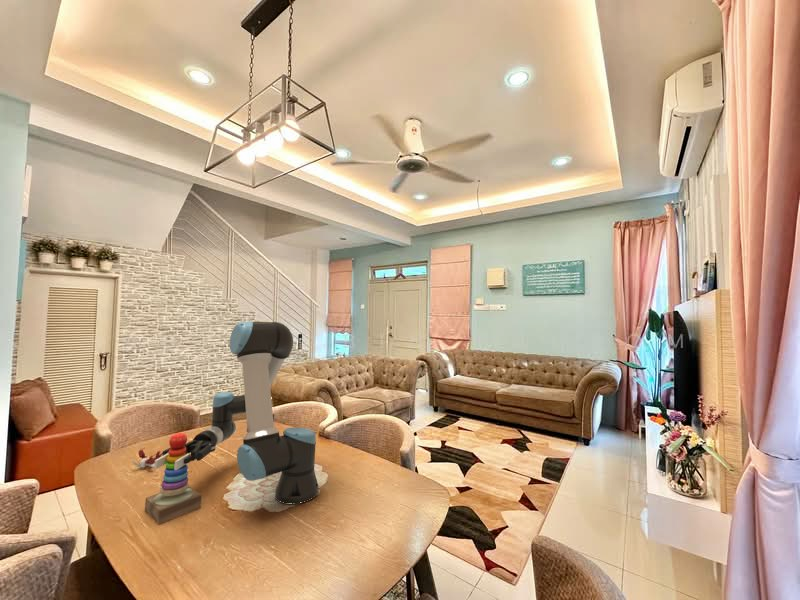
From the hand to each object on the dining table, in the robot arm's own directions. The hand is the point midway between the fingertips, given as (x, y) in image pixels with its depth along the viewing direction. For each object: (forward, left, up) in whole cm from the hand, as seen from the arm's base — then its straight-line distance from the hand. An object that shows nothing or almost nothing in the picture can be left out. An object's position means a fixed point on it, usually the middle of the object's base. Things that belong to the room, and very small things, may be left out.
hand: (165, 465), depth 108 cm
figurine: (+45, -11, -17) cm, 49 cm away
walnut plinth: (+3, -4, -16) cm, 17 cm away
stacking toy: (+3, -4, -11) cm, 12 cm away
